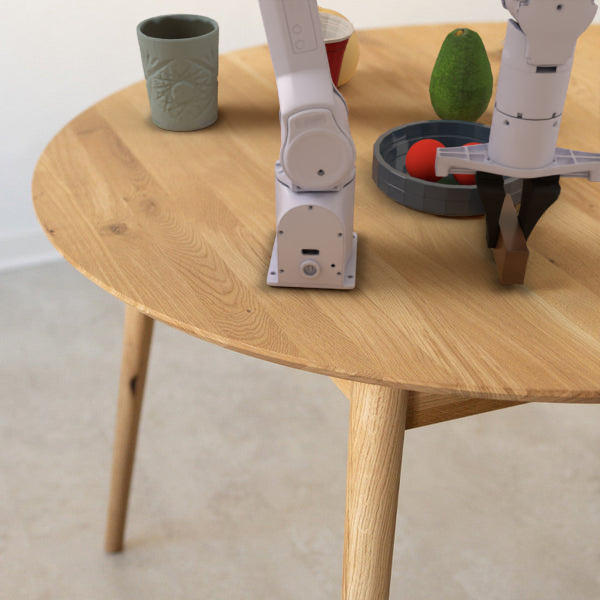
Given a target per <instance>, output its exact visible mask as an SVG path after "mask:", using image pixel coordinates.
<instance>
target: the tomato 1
mask: <svg viewBox="0 0 600 600" xmlns="http://www.w3.org/2000/svg"><path fill="white" fill-rule="evenodd" d="M437 148H446V147H445V146H444V145H443V144H441V143H440V142H438V141H436V140H432V139H424V140H421V141H418V142H416V143H415V144H414V145H413V146H412V147H411V148H410V149H409V151H408V153H407V155H406V161H405V164H406V169H407V171H408V173H409V175H410V176H411V177H414V178H417V179H421V180H424V181H428V182H433V183H435V182H437V181H439V180H440V179H442V178H443V177H442V176H436V173H435V160H436V151H437Z"/></svg>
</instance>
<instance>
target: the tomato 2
mask: <svg viewBox="0 0 600 600" xmlns="http://www.w3.org/2000/svg"><path fill="white" fill-rule="evenodd" d="M478 144H481V143H468V144H465V145H463V146H470V145H478ZM452 175H453V177H454V178H455V180H456V181H457V182H458V183H460V184H461V185H468V186H471V185H476V182H475V177H474V174H452Z"/></svg>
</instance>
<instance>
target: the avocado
mask: <svg viewBox="0 0 600 600" xmlns="http://www.w3.org/2000/svg"><path fill="white" fill-rule="evenodd" d="M493 76H494V75H493V70H492V66H491V62H490V59H489V56H488V52H487V50H486V47H485V44H484V41H483V39H482V37H481V36H480V34H479V33H478V32H477V31H475V30H472V29H470V28H467V27H461V28H460V27H459V28H455V29H453V30H451V31H450V32H448V33H447V34H446V36H445V38H444V40H443V41H442V44H441V46H440V48H439V52H438V54H437V57H436V58H435V63H434V65H433V68H432V70H431V75H430V81H429V87H428V93H429V99H430V103H431V107H432V109H433V111H434V113H435V115H437V117H438V118H439V119H440V120H460V121H468V122H477V121H478V120H479V119H480V118H481V117H482V116H483V115H484V113H485V112H486V111H487V110H488V108H489V105H490V103H491V99H492V97H493V92H494V91H493V89H494V77H493Z"/></svg>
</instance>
